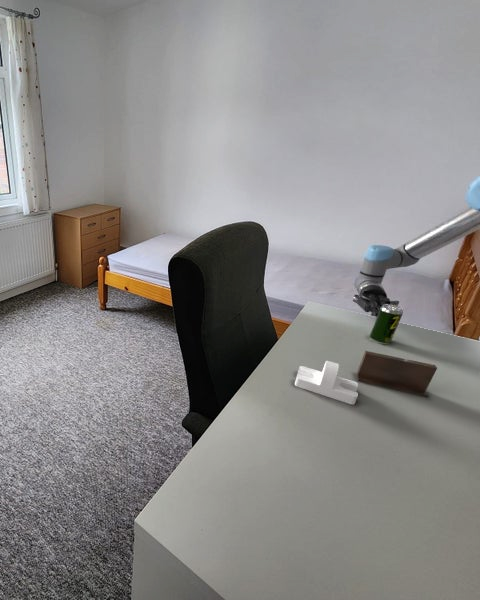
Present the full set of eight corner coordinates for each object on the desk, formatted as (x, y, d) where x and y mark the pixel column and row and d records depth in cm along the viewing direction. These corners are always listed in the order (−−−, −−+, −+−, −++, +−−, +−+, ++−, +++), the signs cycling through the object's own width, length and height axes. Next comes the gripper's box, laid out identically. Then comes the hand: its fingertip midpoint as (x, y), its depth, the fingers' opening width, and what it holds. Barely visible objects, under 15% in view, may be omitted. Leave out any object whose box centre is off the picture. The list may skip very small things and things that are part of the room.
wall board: (422, 390, 88) (435, 365, 85) (426, 397, 85) (439, 372, 82) (355, 374, 94) (365, 350, 91) (357, 381, 92) (367, 356, 89)
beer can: (365, 339, 111) (378, 306, 105) (373, 334, 113) (385, 302, 108) (386, 346, 106) (400, 313, 101) (393, 341, 109) (407, 308, 104)
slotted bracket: (354, 390, 89) (364, 366, 85) (354, 405, 84) (364, 380, 80) (297, 372, 96) (304, 349, 93) (294, 385, 91) (301, 361, 88)
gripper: (390, 306, 126) (406, 334, 108) (347, 299, 132) (355, 325, 114) (398, 287, 123) (415, 314, 105) (353, 281, 129) (362, 305, 111)
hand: (384, 320), depth 109 cm, fingers closed
